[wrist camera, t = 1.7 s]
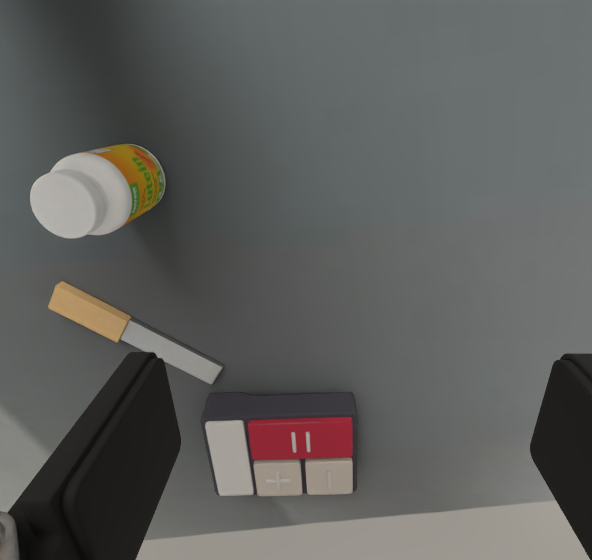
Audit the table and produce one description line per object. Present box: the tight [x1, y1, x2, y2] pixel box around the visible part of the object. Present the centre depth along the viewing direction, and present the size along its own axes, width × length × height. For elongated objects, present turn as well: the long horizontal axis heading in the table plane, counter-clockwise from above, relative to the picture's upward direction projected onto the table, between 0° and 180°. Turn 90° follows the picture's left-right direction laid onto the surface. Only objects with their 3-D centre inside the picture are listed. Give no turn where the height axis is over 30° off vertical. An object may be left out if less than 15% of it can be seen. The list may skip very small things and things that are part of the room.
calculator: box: [201, 392, 357, 496], centre depth 41 cm, size 11×4×15 cm
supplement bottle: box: [30, 144, 166, 238], centre depth 28 cm, size 5×5×10 cm
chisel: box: [48, 281, 224, 385], centre depth 38 cm, size 17×3×1 cm, turn 59°
